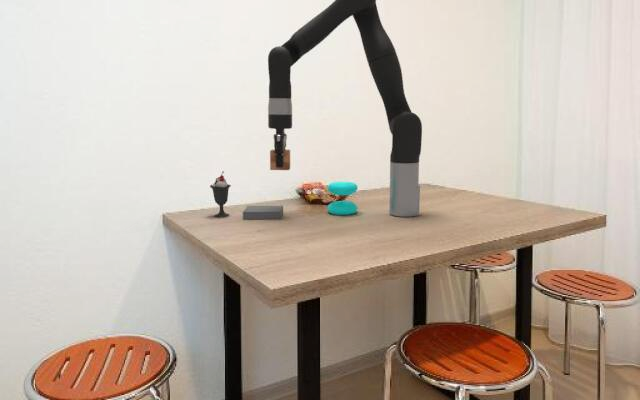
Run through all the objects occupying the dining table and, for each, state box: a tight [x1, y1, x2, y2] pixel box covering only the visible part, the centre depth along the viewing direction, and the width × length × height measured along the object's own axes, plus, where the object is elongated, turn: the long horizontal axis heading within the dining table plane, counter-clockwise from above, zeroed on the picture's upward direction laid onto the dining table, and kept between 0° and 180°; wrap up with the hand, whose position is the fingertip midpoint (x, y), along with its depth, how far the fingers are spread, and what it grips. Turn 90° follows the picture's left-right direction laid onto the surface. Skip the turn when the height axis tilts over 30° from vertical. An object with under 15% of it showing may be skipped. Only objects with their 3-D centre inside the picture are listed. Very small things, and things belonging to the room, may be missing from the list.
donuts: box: [327, 181, 358, 216], centre depth 162 cm, size 10×10×10 cm
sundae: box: [209, 170, 231, 218], centre depth 159 cm, size 7×7×15 cm
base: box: [242, 205, 284, 221], centre depth 159 cm, size 12×10×3 cm
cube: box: [269, 149, 291, 171], centre depth 155 cm, size 6×6×6 cm
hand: (280, 166), depth 156 cm, fingers closed on cube, 6 cm apart
